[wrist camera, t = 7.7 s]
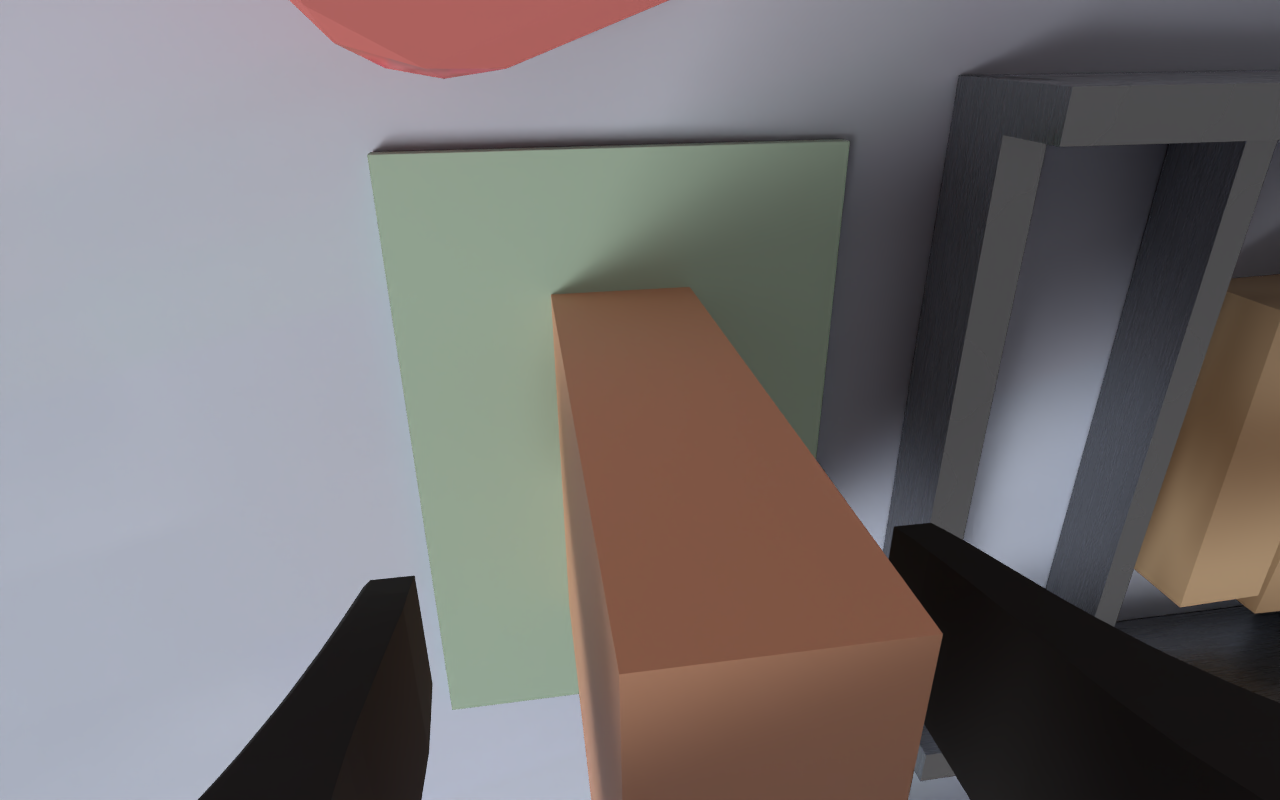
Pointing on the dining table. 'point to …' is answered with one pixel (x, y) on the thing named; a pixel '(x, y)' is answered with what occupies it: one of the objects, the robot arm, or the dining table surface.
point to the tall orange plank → (720, 576)
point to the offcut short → (1224, 462)
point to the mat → (524, 347)
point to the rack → (1145, 341)
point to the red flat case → (461, 30)
